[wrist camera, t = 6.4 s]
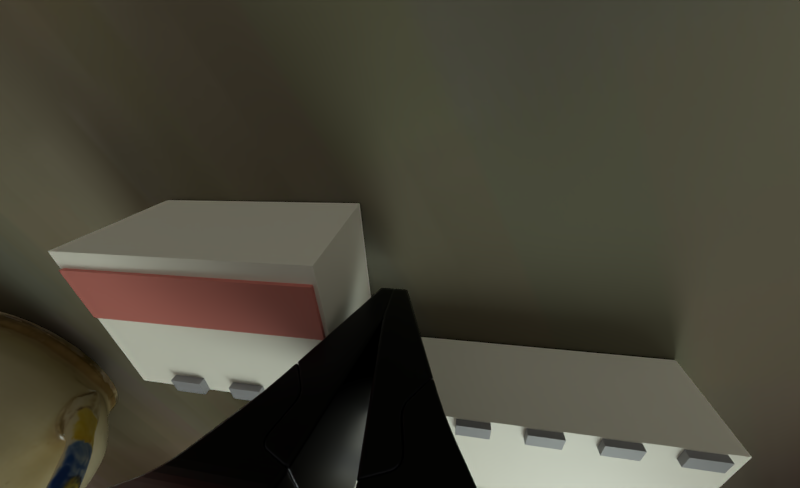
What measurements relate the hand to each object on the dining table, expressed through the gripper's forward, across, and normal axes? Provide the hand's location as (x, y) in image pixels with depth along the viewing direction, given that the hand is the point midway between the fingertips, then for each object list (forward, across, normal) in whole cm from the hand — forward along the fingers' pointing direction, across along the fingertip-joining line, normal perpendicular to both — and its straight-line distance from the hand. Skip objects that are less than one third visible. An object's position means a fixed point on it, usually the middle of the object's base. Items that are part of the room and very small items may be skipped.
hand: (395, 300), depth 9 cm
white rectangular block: (+2, +5, 0) cm, 5 cm away
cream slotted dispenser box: (+2, -3, +7) cm, 8 cm away
